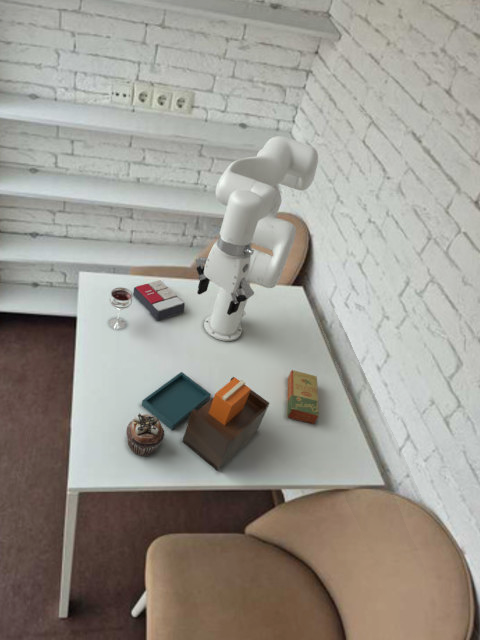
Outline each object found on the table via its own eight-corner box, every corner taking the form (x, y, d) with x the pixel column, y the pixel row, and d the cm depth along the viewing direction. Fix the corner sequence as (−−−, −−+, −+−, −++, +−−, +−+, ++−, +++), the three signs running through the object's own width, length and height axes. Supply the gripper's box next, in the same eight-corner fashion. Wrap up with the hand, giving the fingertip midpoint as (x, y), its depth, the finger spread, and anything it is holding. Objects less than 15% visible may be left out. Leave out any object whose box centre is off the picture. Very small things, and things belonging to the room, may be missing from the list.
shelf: (222, 406, 152) (233, 376, 144) (256, 432, 147) (269, 402, 139) (182, 441, 140) (191, 411, 132) (217, 471, 135) (229, 441, 127)
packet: (227, 396, 141) (235, 375, 136) (243, 408, 139) (252, 386, 134) (208, 413, 136) (215, 391, 130) (224, 425, 134) (232, 403, 128)
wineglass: (132, 323, 171) (137, 294, 163) (119, 334, 166) (123, 304, 158) (115, 313, 173) (119, 284, 165) (102, 323, 168) (105, 293, 161)
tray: (180, 376, 157) (181, 371, 156) (209, 398, 153) (211, 394, 152) (141, 405, 146) (142, 400, 145) (171, 430, 142) (172, 425, 141)
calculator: (160, 278, 186) (185, 302, 177) (159, 288, 188) (183, 312, 180) (133, 285, 180) (158, 310, 171) (132, 295, 182) (156, 321, 174)
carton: (312, 385, 165) (317, 375, 163) (314, 425, 153) (320, 415, 150) (286, 378, 165) (291, 369, 163) (286, 418, 153) (291, 408, 150)
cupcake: (165, 456, 135) (172, 432, 129) (128, 462, 132) (133, 437, 126) (156, 426, 142) (162, 401, 136) (120, 430, 139) (125, 405, 132)
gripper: (272, 257, 122) (252, 315, 132) (215, 222, 129) (200, 280, 139) (254, 267, 117) (234, 326, 127) (195, 230, 124) (181, 289, 134)
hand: (216, 302), depth 133 cm, fingers open, 9 cm apart
